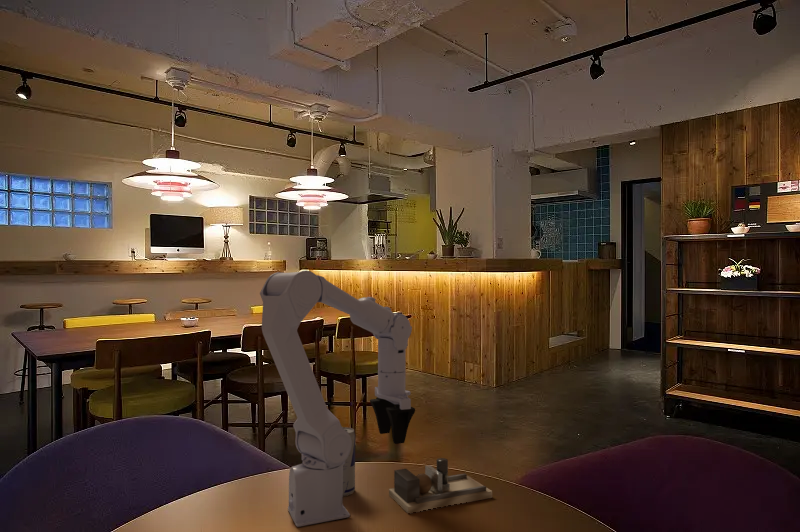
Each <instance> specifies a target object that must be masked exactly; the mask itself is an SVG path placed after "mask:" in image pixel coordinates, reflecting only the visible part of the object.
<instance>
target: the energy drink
mask: <svg viewBox="0 0 800 532" xmlns="http://www.w3.org/2000/svg"><path fill="white" fill-rule="evenodd" d="M342 428H343V429H344V430H346V431H347V432H348V433H349V435H350V437H351V440H352V447H351V451H350V454H349V456H348V458H347V459H346V460H345V464H344V465H343V497H348V496H350V495H352V494H353V493H354V492H355V489H356V433H355V429H354V428H352V427H345V426H344V427H343V426H342ZM347 495H348V496H347Z"/></svg>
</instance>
